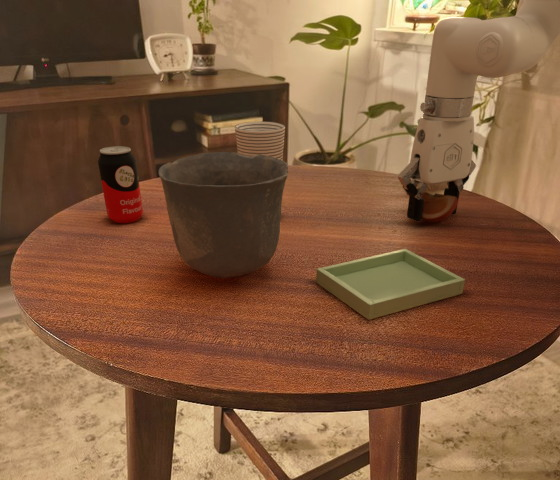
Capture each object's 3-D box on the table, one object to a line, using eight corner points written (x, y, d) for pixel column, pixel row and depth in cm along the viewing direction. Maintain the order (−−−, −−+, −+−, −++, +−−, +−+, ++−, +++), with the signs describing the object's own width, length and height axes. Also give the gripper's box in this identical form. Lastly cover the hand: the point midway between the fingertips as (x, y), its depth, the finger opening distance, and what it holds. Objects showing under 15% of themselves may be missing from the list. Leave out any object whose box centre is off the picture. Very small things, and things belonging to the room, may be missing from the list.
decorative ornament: (452, 196, 113) (457, 168, 110) (416, 200, 111) (420, 172, 108) (441, 190, 116) (445, 163, 113) (406, 194, 114) (409, 167, 111)
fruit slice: (400, 220, 101) (404, 192, 98) (417, 211, 105) (421, 183, 103) (444, 230, 97) (449, 201, 94) (460, 219, 101) (465, 191, 98)
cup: (292, 214, 104) (293, 123, 95) (271, 228, 98) (270, 132, 89) (252, 207, 107) (250, 119, 99) (229, 220, 101) (224, 128, 92)
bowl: (316, 273, 82) (320, 167, 74) (223, 313, 72) (215, 195, 63) (237, 241, 92) (232, 145, 84) (145, 272, 82) (130, 166, 74)
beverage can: (103, 224, 100) (90, 153, 93) (115, 212, 105) (104, 145, 98) (137, 225, 99) (126, 154, 92) (148, 214, 104) (139, 145, 98)
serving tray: (403, 261, 85) (405, 248, 84) (462, 293, 76) (465, 279, 75) (316, 282, 79) (316, 268, 78) (368, 320, 70) (369, 304, 69)
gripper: (420, 116, 85) (406, 230, 94) (504, 106, 91) (482, 214, 101) (389, 108, 90) (379, 217, 100) (471, 100, 97) (453, 203, 107)
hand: (431, 215), depth 101 cm, fingers closed on fruit slice, 7 cm apart
